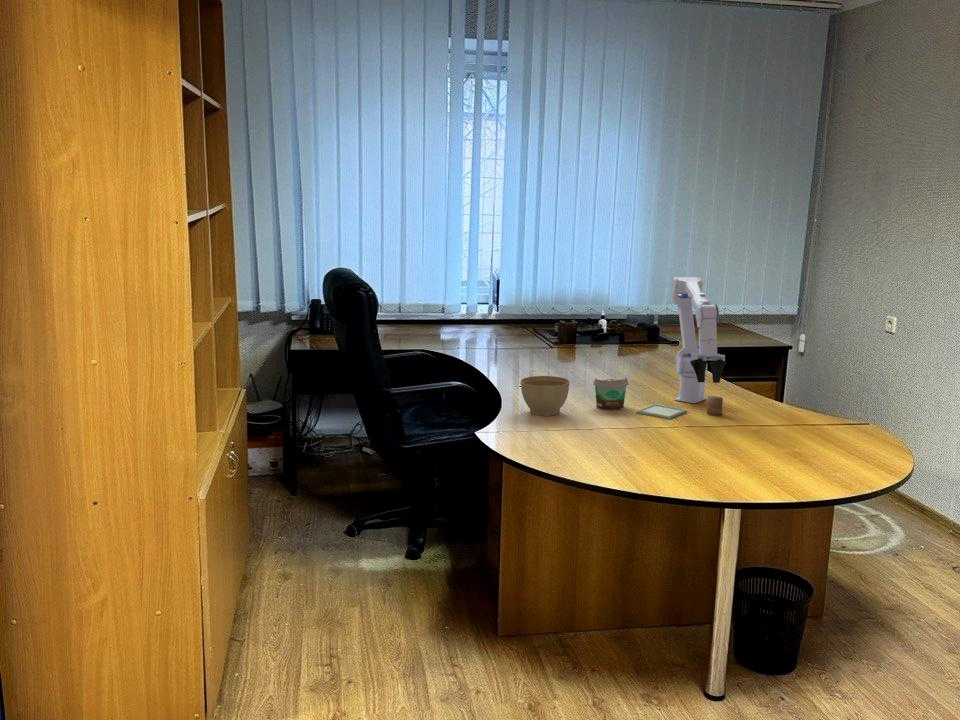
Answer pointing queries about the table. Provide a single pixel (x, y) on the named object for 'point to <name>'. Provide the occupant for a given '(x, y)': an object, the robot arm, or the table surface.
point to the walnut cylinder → (714, 405)
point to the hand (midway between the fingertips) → (708, 382)
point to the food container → (610, 393)
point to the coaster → (661, 411)
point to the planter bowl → (545, 394)
